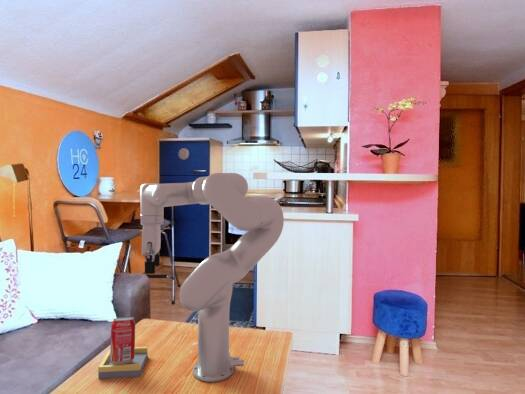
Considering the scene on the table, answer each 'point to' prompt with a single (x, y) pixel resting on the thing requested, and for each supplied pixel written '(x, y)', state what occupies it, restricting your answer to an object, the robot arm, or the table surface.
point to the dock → (124, 365)
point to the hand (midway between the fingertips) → (152, 269)
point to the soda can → (122, 341)
